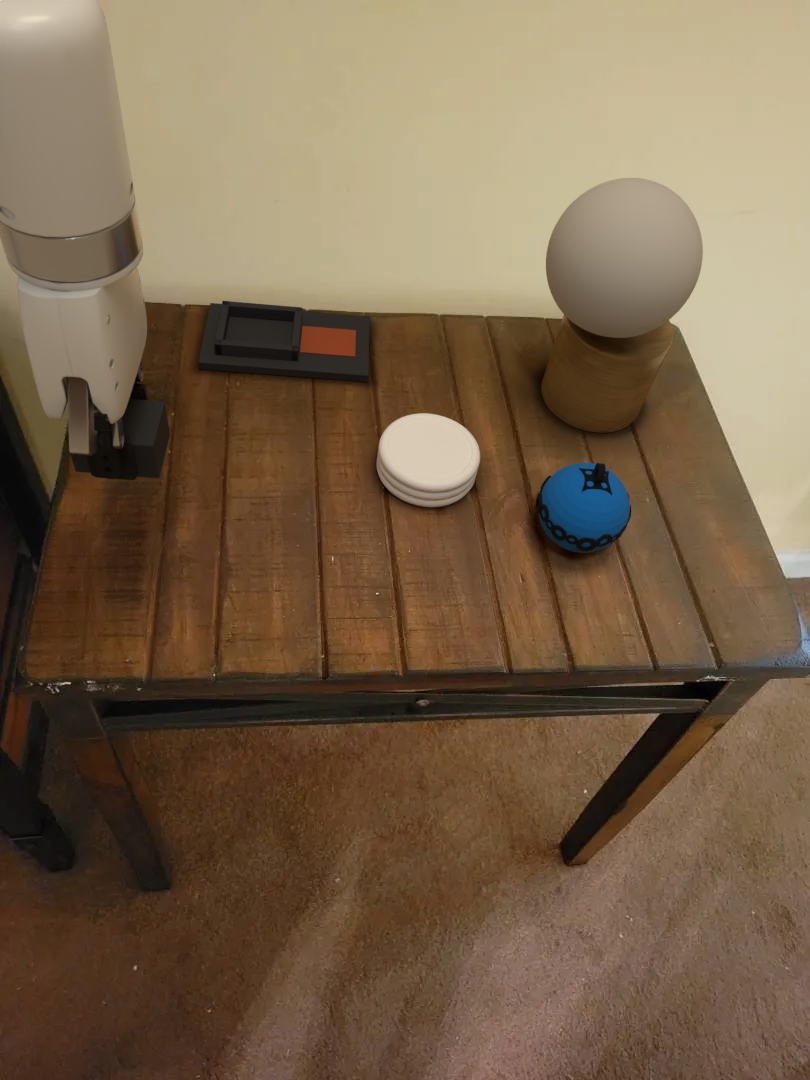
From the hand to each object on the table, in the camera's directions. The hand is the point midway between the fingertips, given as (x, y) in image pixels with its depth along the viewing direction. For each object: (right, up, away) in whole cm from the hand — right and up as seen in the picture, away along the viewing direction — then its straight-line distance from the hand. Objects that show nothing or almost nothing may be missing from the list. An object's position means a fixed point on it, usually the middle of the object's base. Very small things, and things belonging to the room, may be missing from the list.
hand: (122, 447), depth 61 cm
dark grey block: (0, 0, 0) cm, 1 cm away
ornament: (+37, -7, +19) cm, 42 cm away
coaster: (+23, 0, +21) cm, 32 cm away
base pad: (+8, +15, +30) cm, 35 cm away
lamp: (+40, +9, +30) cm, 51 cm away
